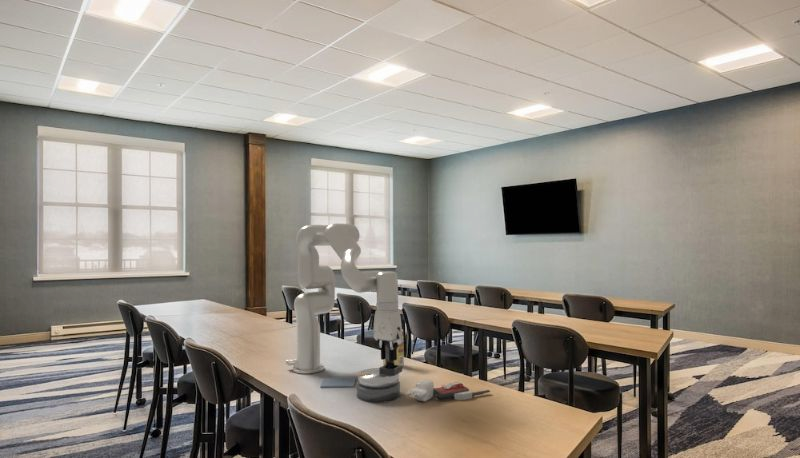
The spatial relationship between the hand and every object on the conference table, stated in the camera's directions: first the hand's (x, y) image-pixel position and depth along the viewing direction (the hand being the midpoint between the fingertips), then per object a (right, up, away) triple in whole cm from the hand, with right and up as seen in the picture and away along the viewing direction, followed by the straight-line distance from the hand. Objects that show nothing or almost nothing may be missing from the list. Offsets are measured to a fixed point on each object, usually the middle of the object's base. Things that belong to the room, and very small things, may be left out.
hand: (388, 359), depth 163 cm
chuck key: (+1, -4, -1) cm, 4 cm away
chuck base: (-4, -12, -3) cm, 12 cm away
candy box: (+1, -13, +35) cm, 38 cm away
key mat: (-19, -12, +11) cm, 25 cm away
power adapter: (+11, -12, -9) cm, 18 cm away
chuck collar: (-4, -7, -3) cm, 8 cm away
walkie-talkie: (+24, -12, -4) cm, 27 cm away
